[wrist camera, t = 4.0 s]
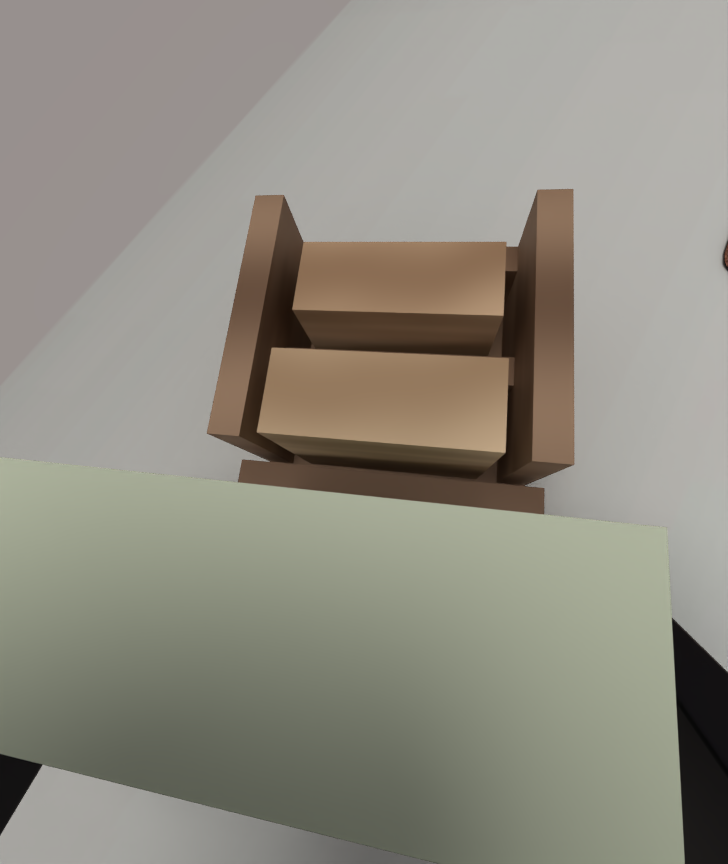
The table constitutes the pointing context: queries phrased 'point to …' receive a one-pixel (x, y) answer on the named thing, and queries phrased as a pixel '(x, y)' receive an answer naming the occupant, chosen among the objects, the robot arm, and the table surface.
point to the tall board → (346, 662)
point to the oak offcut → (387, 410)
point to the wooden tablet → (726, 256)
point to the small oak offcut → (402, 296)
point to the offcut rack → (516, 339)
